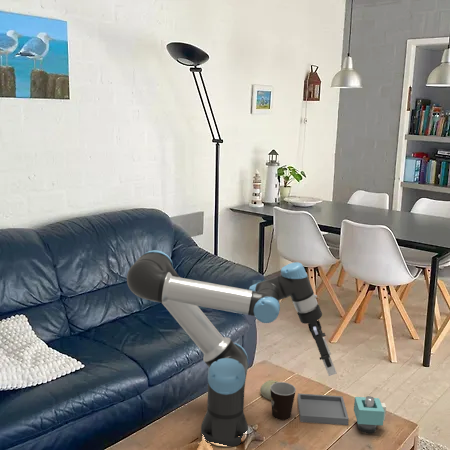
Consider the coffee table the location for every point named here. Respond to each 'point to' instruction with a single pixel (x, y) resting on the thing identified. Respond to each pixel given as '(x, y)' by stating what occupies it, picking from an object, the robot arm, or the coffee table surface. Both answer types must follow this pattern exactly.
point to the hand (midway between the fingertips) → (329, 364)
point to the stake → (365, 427)
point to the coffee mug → (282, 400)
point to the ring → (369, 412)
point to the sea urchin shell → (267, 389)
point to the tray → (322, 409)
